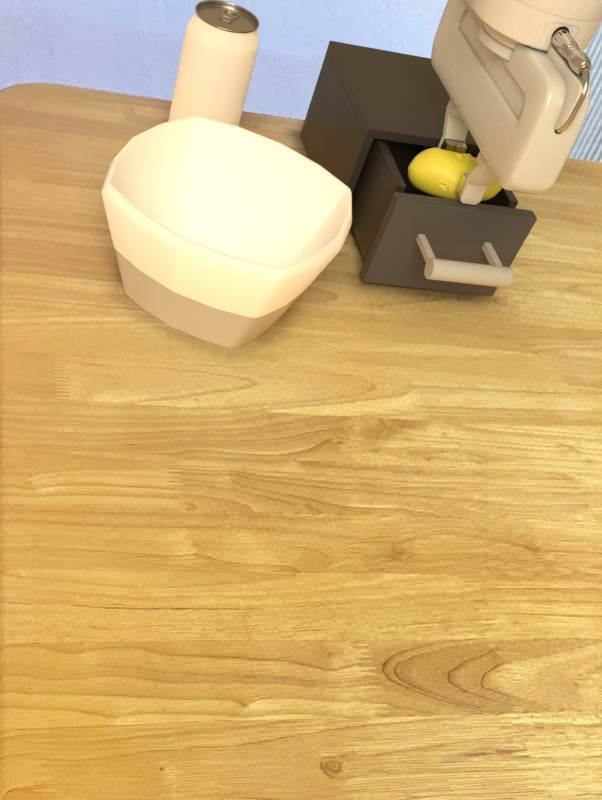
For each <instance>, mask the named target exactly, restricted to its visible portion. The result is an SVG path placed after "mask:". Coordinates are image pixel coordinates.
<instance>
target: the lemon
mask: <svg viewBox="0 0 602 800" xmlns="http://www.w3.org/2000/svg"><path fill="white" fill-rule="evenodd" d="M477 165H478V163H477V161H476V158H475V157H472V155H471V154H467V153H466V154H465V153H464V154H461V153H457V152H453V151H449V150H444V149H440V148H430V149H427V150H424V151H422V152H420V153H419V154H418V155H417V156H416V157H415V158H414V159H413V160H412V161H411V163H410V165H409V167H408V178H409V181H410V183H411V184H412V185H413V186H414V187H415V188H417V189H419V190H420V191H423V192H425V193H427V194H430V195H433V196H436V197H439V198H444V199H451V200H459V201H460V199H459V197H458V195H457V193H456V186H457V185H458V184H459V180H460V178H461V176H462V174H463V173H469V174H470V173H471V172H472V171H473V169H474V168H475V167H476V166H477ZM501 189H502V187H501V186H500V184H499V182H498V181H497V180H496V181H495V182H494V183H493V184H491V185H490V186H488V188H487V190H486V192H485V194H484V196H483V198H482V200H481V201H485V200H488V199H490V198H492V197H494V196H495V195H496V194H497V193H498V192H499V191H500V190H501Z"/></svg>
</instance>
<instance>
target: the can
mask: <svg viewBox="0 0 602 800" xmlns="http://www.w3.org/2000/svg"><path fill="white" fill-rule="evenodd" d="M259 27H260V20H259V18H258V17H257V15H255V14H254V13H253V12H252V11H251V10H249V9H247V8H245V7H243V6H241V5H239V4H236V3H233V2H230V1H226V0H201V1H199V2H198V3H196V5H195V7H194V14H193V15H192V16H191V17H190V19H188V22H187V25H186V28H185V32H184V37H183V43H182V48H181V53H180V57H179V62H178V67H177V73H176V78H175V84H174V87H173V88H174V89H173V94H172V100H171V104H170V109H169V114H168V120H167V122H169V121H173V120H177V119H182V118H186V117H190V116H201V117H205V118H209V119H212V120H216V121H220V122H224V123H227V124H231V125H235V126H238V127H240V121H241V117H242V114H243V110H244V106H245V102H246V100H247V95H248V91H249V87H250V83H251V79H252V75H253V71H254V67H255V63H256V59H257V56H258V51H259V46H260V39H259V34H258V29H259Z"/></svg>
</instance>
